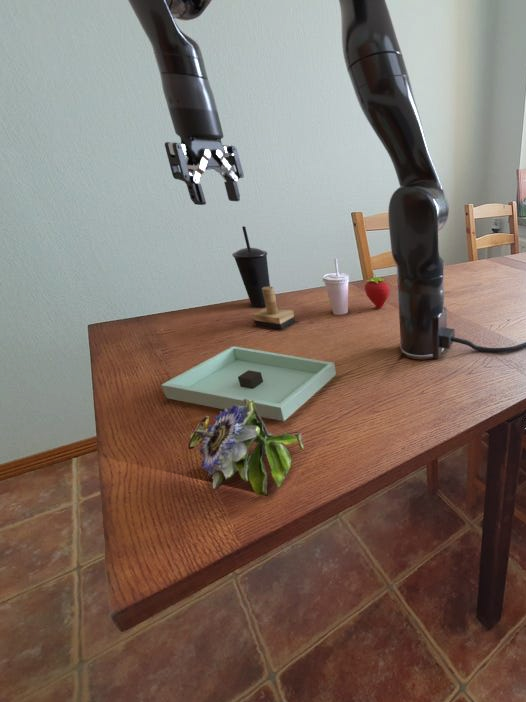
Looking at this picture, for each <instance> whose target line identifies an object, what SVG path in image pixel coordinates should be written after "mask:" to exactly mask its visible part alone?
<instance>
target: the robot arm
mask: <svg viewBox="0 0 526 702" xmlns="http://www.w3.org/2000/svg"><path fill="white" fill-rule="evenodd" d="M127 1H128V3H129V5H130V7H131V9H132V11H133V12H134V15H135V16H136V19H137V21H138V22H139V24H140V26H141V28H142V31H144V34H145V35H146V37H147V39H148V41H149V42H150V45H151V48H152V51H153V54H154V58H155V61H156V65H157V68H158V72H159V76H160V80H161V86H162V92H163V95H164V99H165V102H166V106H167V108H168V112H169V116H170V119H171V122H172V127H173V129H174V132H175V134H176V136H178V137H179V138H180V142H173V141H166V142H165V143H164V147H165V153H166V156H167V158H168V163H169V168H170V170H171V174H172V177H173V179H175V180H179V181H182V182H184V183H185V184H186V188H187V192H188V195H189V197H190V200H191V201H192V202H193V204H194V205H195V206H196V205H197V206H198V205H199V206H205V205H206V204H207V201H206V198H205V194H204V191H203V187H202V184H201V183H200V181H201V178H202V175H203V174H204V173H205V172H206V170H214V171H215V172H217V173H218V174H219V175H220V176H221V178H223V180H224V181H223V183H224V187H225V191H226V194H227V198H228V201H230V202H240V201H241V200H240V197H241V194H240V190H239V186H238V181H239V179H243V178H245V175H244V174H245V173H244V171H243V167H242V164H241V160H240V155H239V152H238V149H237V147H236V146H235V145H230V144H229V145H228V144H227V145H226V144H225V145H223V143H222V139H223V138H224V132H223V127H222V124H221V120H220V116H219V115H220V114H219V112H218V108H217V103H216V100H215V95H214V93H213V89H212V87H211V84H210V80H209V77H208V73H207V68H206V64H205V61H204V57H203V53H202V49H201V47H200V45H199V43H197V41H196V40H195V39H193V38H192V37H190V36H189V35H187V34H186V33H185V32H183V31H182V30H181V28H180V27H179V26H178V24H177V22H176V20H178V21H185V22H186V21H192V20H195V19H198V18H199V17H200V16H202V14H203V13H204V12H205V11H206V9H207V8H208V7H209V5H210V4H211V3H212V1H213V0H127ZM338 3H339V9H340V19H341V20H340V21H341V24H340V25H341V27H340V28H341V46H342V55H343V59H344V63H345V67H346V70H347V74H348V76H349V79H350V82H351V85H352V88H353V91H354V93H355V97H356V101H357V102H358V105H359V107H360V109H361V111H362V113H363V115H364V117H365V119H366V120H367V122H368V123H369V125H370V127H371V128H372V130H373V132H374V133H375V135H376V137H377V139H378V140H379V141H380V142H381V145H382V146H383V147H384V149H385V151H386V152H387V154H388V156H389V158H390V160H391V163H392V165H393V168H394V171H395V174H396V178H397V180H398V184H399V187H398V188H396V190H394V191H393V193H392V194H391V196H390V199H389V202H388V209H387V211H388V215H387V216H388V230H389V231H388V232H389V240H390V241H389V242H390V251H391V255H392V256H391V257H392V259H393V261H394V263H395V268H396V281H397V301H398V318H399V319H398V321H399V322H398V323H399V338H400V339H399V340H400V345H399V346H400V347H399V348H400V352H402V353H401V355H402V356H404V357H406V358H409V359H411V360H418V361H424V360H432V359H434V360H439V359H440V357H441V356H442V355H443V353H444V352H445V350H446V349H448V350H449V349H450V348H451V346H453V343H458V344H462V345H466V346H468V347H469V348H471V349H473V350H475V351H479V352H484V353H485V352H486V353H508V352H509V353H510V352H514V351H518V350H521V349H524V348H526V341H525V342H522V343H520V344H517V345H513V346H508V347H507V346H505V347H487V346H486V347H484V346H480V345H477V344H476V343H475V344H474V343H473V342H472V341H470V340H467V339H463V338H460V337H455V334H456V333H455V328H450V327H448V308H447V307H446V306H445V260H444V259H443V257H442V256H441V255H440V250H439V232H440V231H441V230H443V228H444V227H445V225H446V223H447V222H448V218H449V213H450V208H449V201H448V198H447V195H446V193H445V190H444V188H443V185H442V183H441V180H440V178H439V175H438V172H437V169H436V167H435V165H434V162H433V159H432V156H431V153H430V151H429V148H428V144H427V140H426V137H425V132H424V129H423V125H422V121H421V117H420V113H419V110H418V106H417V103H416V99H415V95H414V92H413V91H414V90H413V88H412V84H411V81H410V76H409V73H408V70H407V66H406V62H405V59H404V56H403V52H402V49H401V47H400V43H399V41H398V37H397V33H396V30H395V27H394V24H393V21H392V17H391V14H390V11H389V8H388V5H387V2H386V0H338Z"/></svg>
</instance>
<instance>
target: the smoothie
mask: <svg viewBox="0 0 526 702" xmlns="http://www.w3.org/2000/svg"><path fill="white" fill-rule="evenodd" d="M333 261H334V267H335V272H329V273H325V274H324V275H323V276H322V282H323V283H324V285H325V288H326V293H327V297H328V300H329V303H330V306H331V307H330V308H331V310H332V314H333V315H335V316H343V315H346V314H348V313H349V281H350V276H349V274H348V273H344V272H339V265H338V259H337V258H334V260H333Z"/></svg>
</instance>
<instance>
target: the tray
mask: <svg viewBox="0 0 526 702" xmlns="http://www.w3.org/2000/svg"><path fill="white" fill-rule="evenodd" d="M248 370H250V371H256V372H261V375H262V379H263V382H262V383H261V384H259V385H258V386H257V387H255V388H254V389H250V388H245V387H241V386H240V383H239V380H238V377H239V376H240V375H242V374H243V373H245V372H246V371H248ZM336 375H337V372H336V365H335V362H333V361H332V362H331V361H325V360H319V359H314V358H308V357H307V358H306V357H300V356H295V355H289V354H282V353H277V352H270V351H265V350H260V349H259V350H258V349H253V348H246V347H241V346H230V347H229V348H227V349H225V350H223V351H221V352H220V353H218V354H216V355H214V356H212V357H210V358H208V359H207V360H204V361H203V362H201V363H199V364H197V365H195V366H193V367H191V368H189V369H187V370H186V371H184V372H182V373H180V374H179V375H177V376H174V377H173V378H171V379H169V380H167V381H166V382H164V383H162V384H160V385H161V388H162V390H163V393H164V395H165V398H166V399H170V400H175V401H181V402H185V403H190V404H194V405H201V406H205V407H210V408H215V409H219V410H220V409H221V410H224V409H227V410H229V407H231V408H233V406H234V405H239V407H241V406H243V407H244V406H246V404H245V402H244V399H247V400H251V401H252V400H253V401H254V403H255V407H256V408H257V411H258V413H259V415H260V417H261V418H265V419H270V420H271V419H272V420H276V421H281V422H285V421H286V420H287V419H288V418H290V417H291V416H292V415H293V414H294V413H295V412H296V411H297V410H298V409H299V408H301V407H302V406H303V405H304V404H305V403H306V402H308V401H309V400H310V399H311V398H312V397H313V396H314V395H315V394H316V393H318V392H319V391H320V390H321V389H322V388H323V387H324V386H326V384H328V383H329V382H331V380H332V379H333V378H334V377H335V376H336ZM252 415H255V416H256V417H257V415H256V414H255V413H254V412H253V414H252Z"/></svg>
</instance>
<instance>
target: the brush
mask: <svg viewBox="0 0 526 702" xmlns="http://www.w3.org/2000/svg"><path fill="white" fill-rule="evenodd" d="M262 292H263V296H264V300H265V305H266V307H264V308H263V309H260V310H259V311H257V312H255V313H252V318H253V322H254V325H255V327H260V328H266V329H273V330H280V331H283V330H284V329H286V328H288V327H290V326H292V325H294V324H295V323H296V319H295V314H294V310H289V309H285V308H284V309H283V308H282V309H281V308H279V306H278V302H277V297H276V291H275V288H274V287H273V286H271V285H270V286H268V287H263V288H262Z"/></svg>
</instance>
